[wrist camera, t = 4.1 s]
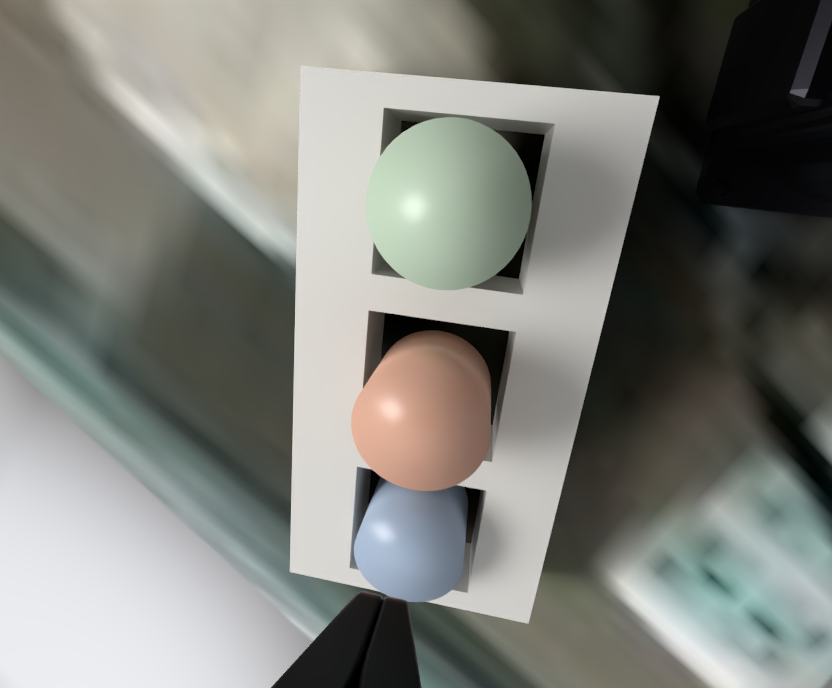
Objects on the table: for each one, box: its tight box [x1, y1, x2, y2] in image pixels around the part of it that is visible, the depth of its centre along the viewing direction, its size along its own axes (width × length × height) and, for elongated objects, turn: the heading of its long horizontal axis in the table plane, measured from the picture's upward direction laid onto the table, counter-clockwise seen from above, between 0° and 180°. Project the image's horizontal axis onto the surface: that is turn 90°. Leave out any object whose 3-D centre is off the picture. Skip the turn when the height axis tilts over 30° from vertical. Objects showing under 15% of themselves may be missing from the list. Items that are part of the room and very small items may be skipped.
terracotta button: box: [351, 330, 491, 491], centre depth 13 cm, size 4×4×3 cm
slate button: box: [354, 477, 468, 602], centre depth 16 cm, size 4×4×3 cm
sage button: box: [366, 117, 532, 290], centre depth 12 cm, size 4×4×3 cm
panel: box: [290, 66, 660, 623], centre depth 16 cm, size 9×17×2 cm, turn 174°
